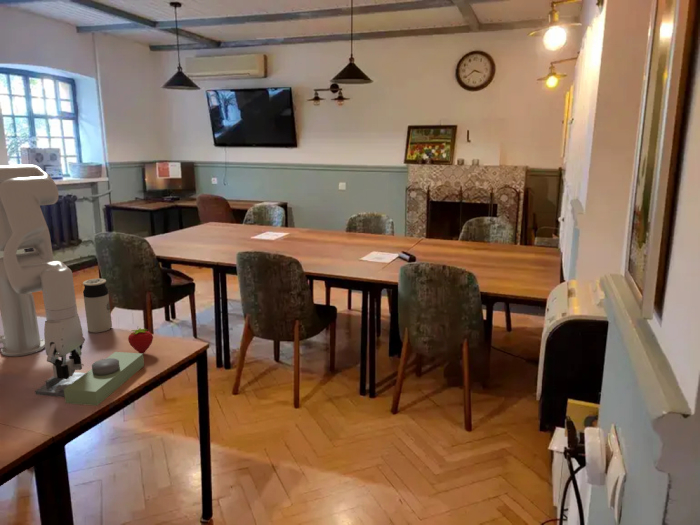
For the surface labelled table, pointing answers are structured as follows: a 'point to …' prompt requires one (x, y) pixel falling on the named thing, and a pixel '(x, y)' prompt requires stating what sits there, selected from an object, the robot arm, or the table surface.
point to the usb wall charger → (69, 367)
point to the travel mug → (97, 305)
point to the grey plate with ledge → (57, 385)
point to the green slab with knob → (103, 378)
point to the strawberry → (140, 340)
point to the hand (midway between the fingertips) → (69, 373)
